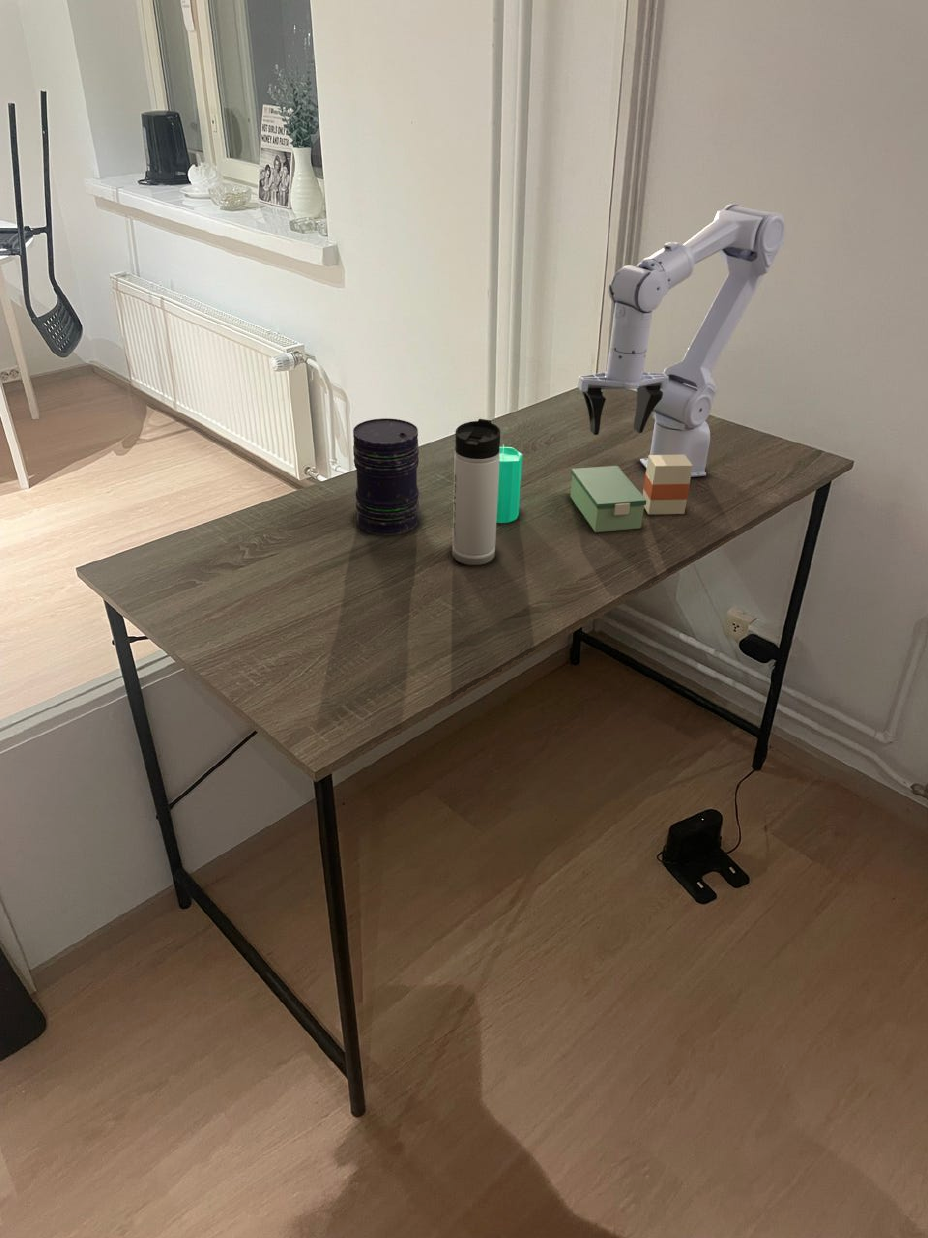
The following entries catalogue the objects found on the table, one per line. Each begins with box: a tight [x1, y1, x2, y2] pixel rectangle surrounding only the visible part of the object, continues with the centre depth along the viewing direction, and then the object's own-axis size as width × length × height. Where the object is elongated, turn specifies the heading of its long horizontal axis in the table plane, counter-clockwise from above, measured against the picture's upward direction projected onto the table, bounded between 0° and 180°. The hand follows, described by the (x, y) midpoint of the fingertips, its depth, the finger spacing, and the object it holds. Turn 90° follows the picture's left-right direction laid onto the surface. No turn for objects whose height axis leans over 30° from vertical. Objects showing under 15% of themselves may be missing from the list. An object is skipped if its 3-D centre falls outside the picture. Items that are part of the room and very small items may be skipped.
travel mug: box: [452, 418, 501, 566], centre depth 129 cm, size 6×7×20 cm
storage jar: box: [352, 417, 420, 536], centre depth 139 cm, size 10×10×15 cm
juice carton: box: [642, 454, 693, 516], centre depth 147 cm, size 4×6×8 cm
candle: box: [496, 443, 523, 524], centre depth 142 cm, size 6×6×12 cm
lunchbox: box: [570, 465, 647, 533], centre depth 146 cm, size 8×14×5 cm, turn 12°
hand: (616, 431), depth 149 cm, fingers open, 7 cm apart
